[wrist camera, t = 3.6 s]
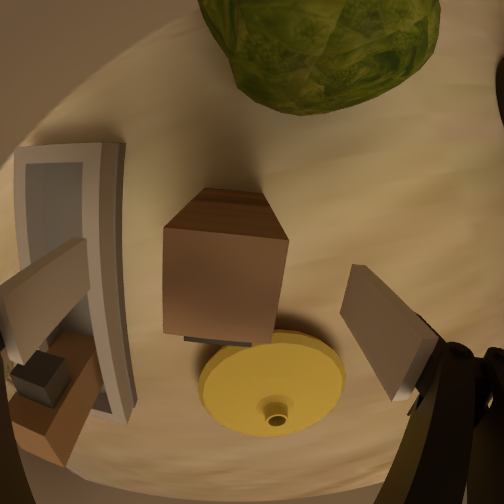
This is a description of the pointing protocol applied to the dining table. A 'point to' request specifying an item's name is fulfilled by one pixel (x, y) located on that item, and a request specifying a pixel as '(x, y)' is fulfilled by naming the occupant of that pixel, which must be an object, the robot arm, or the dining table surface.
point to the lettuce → (322, 48)
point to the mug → (7, 367)
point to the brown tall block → (223, 269)
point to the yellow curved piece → (272, 384)
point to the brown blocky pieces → (87, 309)
